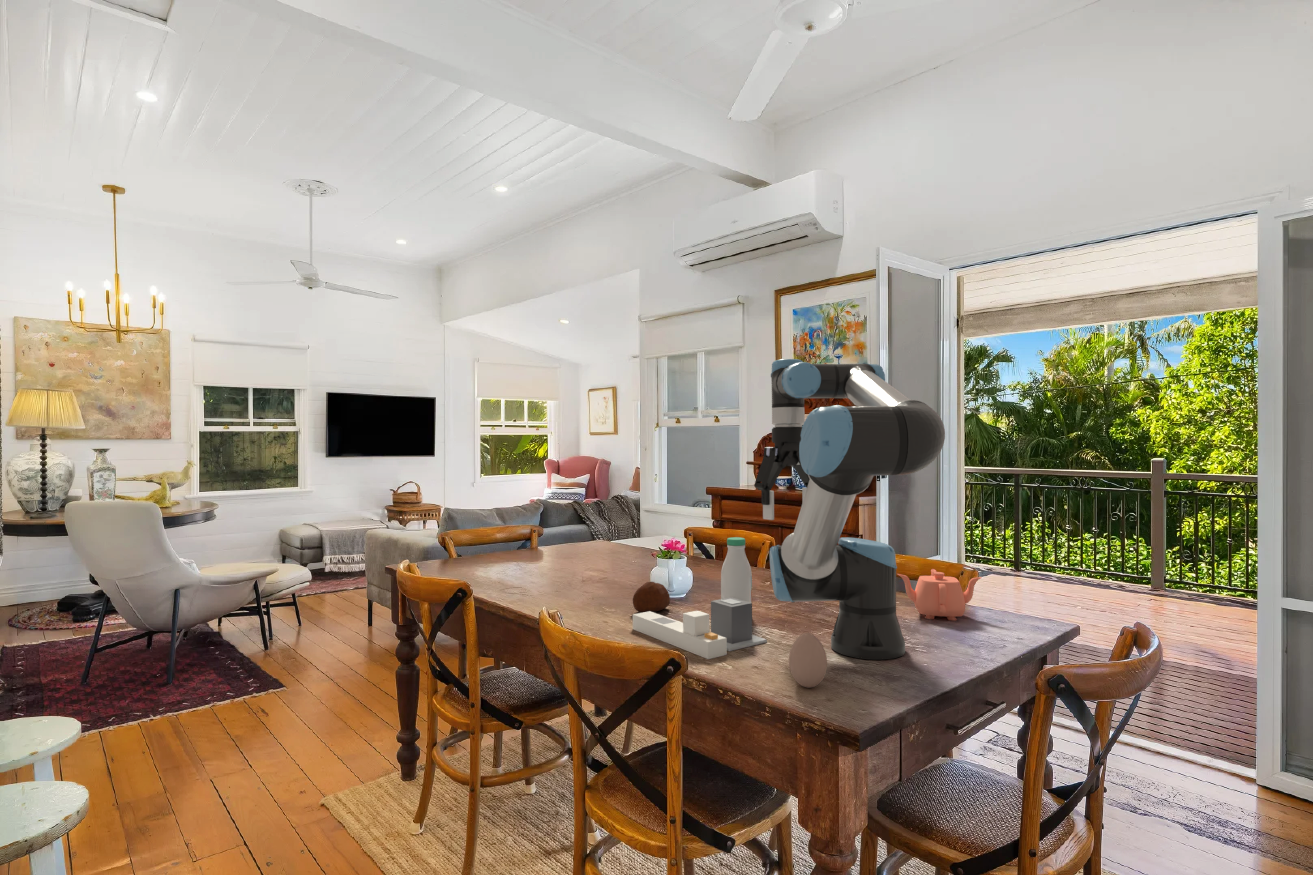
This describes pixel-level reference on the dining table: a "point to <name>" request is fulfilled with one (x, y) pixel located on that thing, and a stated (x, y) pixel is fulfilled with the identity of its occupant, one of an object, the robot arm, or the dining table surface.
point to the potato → (651, 597)
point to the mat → (746, 643)
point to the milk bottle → (736, 572)
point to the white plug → (695, 623)
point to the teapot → (939, 595)
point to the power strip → (679, 635)
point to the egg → (808, 660)
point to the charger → (732, 619)
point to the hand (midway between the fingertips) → (788, 517)
